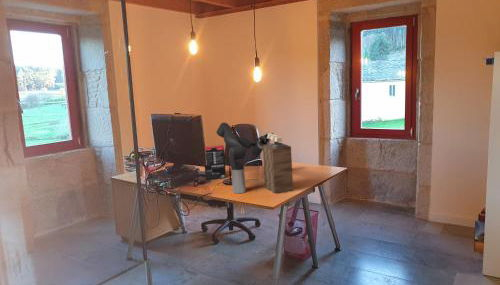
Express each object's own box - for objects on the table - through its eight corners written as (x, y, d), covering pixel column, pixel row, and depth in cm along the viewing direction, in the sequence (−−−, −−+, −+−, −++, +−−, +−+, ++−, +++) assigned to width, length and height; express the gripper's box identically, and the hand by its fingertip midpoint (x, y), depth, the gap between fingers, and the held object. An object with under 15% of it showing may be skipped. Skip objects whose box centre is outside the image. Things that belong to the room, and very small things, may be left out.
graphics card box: (225, 176, 322) (223, 144, 317) (226, 178, 315) (223, 145, 310) (205, 178, 320) (202, 146, 315) (205, 180, 313) (202, 147, 308)
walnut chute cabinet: (265, 187, 284) (262, 143, 278) (282, 184, 288) (280, 140, 282) (275, 194, 267) (272, 147, 261) (293, 190, 272) (290, 144, 265)
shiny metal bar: (263, 137, 287) (263, 133, 287) (268, 136, 289) (268, 132, 288) (276, 142, 265) (276, 137, 264) (282, 141, 266) (282, 136, 266)
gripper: (253, 139, 295) (259, 130, 279) (270, 136, 299) (277, 128, 284) (255, 148, 292) (262, 140, 277) (272, 145, 297) (280, 137, 282)
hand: (270, 134), depth 280 cm, fingers closed on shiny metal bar, 4 cm apart
